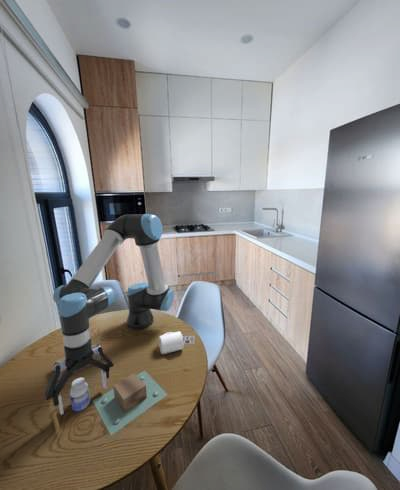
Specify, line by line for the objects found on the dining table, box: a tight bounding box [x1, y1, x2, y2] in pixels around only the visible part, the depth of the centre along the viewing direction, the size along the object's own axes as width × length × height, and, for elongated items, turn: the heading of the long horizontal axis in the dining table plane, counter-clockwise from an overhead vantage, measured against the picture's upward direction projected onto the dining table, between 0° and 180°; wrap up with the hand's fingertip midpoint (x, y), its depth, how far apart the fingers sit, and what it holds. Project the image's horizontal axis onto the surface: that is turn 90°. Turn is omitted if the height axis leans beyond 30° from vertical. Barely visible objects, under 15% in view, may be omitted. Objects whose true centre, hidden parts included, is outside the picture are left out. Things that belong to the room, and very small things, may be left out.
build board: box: [92, 370, 168, 437], centre depth 75 cm, size 20×16×2 cm
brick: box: [54, 344, 102, 381], centre depth 93 cm, size 17×8×5 cm, turn 133°
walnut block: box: [113, 372, 147, 413], centre depth 75 cm, size 8×8×5 cm
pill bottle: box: [69, 377, 91, 412], centre depth 73 cm, size 5×5×10 cm
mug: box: [158, 331, 185, 355], centre depth 103 cm, size 12×10×8 cm
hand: (84, 398), depth 73 cm, fingers open, 13 cm apart
